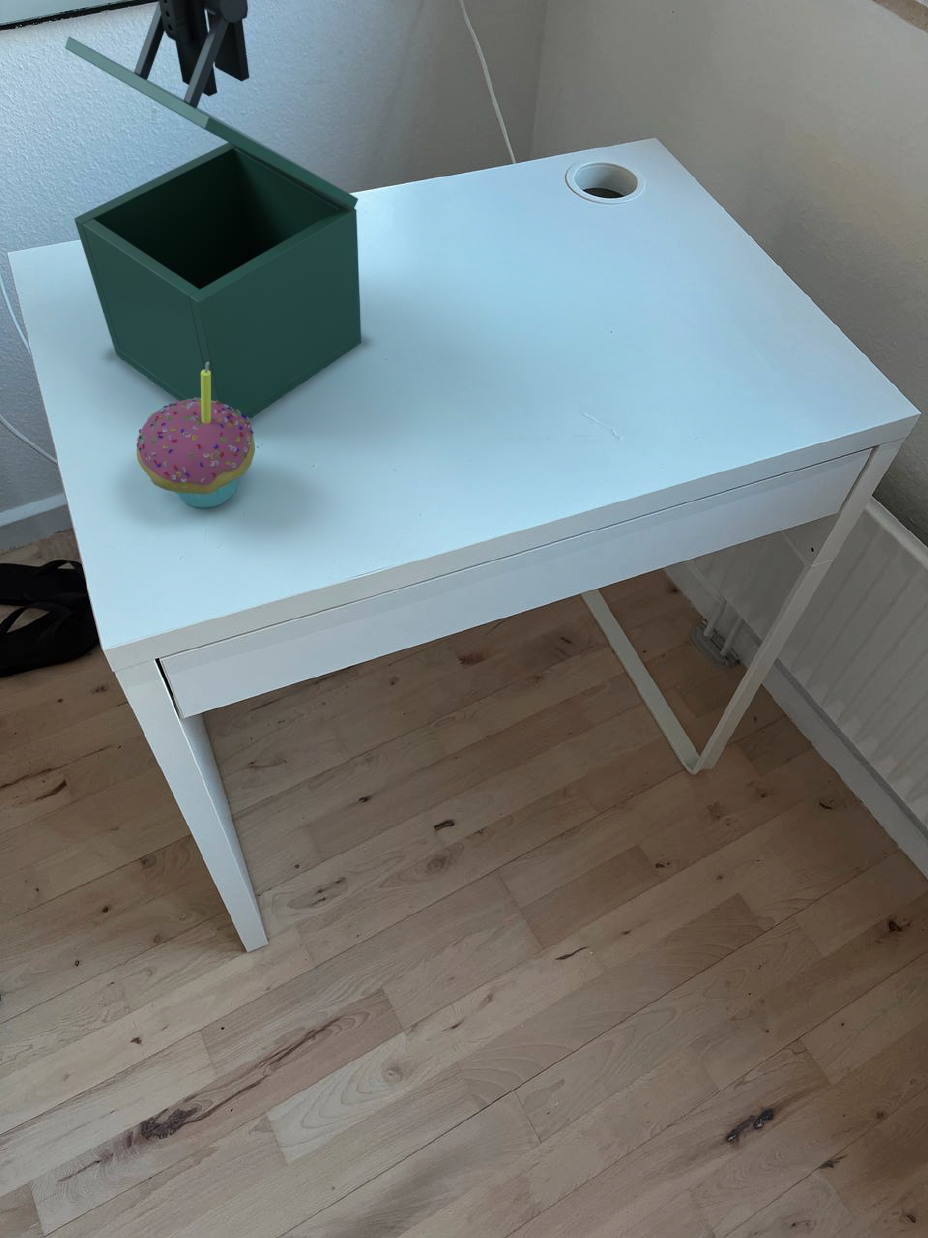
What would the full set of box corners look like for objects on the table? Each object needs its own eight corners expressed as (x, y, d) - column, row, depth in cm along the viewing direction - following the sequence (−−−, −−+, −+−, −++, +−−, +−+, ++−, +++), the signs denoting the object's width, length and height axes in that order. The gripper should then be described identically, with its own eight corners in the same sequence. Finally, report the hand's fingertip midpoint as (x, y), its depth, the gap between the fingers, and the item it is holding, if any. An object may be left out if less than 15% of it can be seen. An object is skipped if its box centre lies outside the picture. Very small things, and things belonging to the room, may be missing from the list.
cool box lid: (204, 129, 58) (258, -14, 55) (64, 47, 63) (108, -88, 60) (354, 208, 73) (402, 99, 70) (232, 137, 78) (273, 32, 75)
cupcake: (250, 438, 77) (228, 317, 67) (271, 515, 72) (251, 398, 62) (142, 458, 75) (104, 336, 65) (157, 539, 70) (118, 421, 60)
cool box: (225, 435, 77) (198, 301, 66) (116, 355, 81) (73, 217, 71) (361, 342, 84) (356, 209, 73) (254, 273, 89) (234, 138, 78)
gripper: (54, -387, 41) (164, 142, 60) (307, -422, 48) (333, 62, 67) (-47, -422, 43) (90, 98, 63) (208, -450, 50) (260, 25, 70)
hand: (216, 78), depth 65 cm, fingers closed on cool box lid, 2 cm apart
